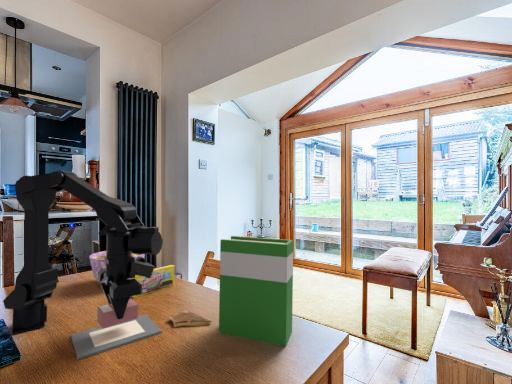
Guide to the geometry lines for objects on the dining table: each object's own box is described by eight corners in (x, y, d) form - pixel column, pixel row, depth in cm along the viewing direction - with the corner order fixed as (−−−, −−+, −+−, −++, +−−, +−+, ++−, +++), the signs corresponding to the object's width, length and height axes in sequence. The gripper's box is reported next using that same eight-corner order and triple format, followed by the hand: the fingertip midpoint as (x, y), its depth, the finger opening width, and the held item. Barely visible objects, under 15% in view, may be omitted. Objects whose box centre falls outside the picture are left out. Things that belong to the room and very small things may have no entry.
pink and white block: (137, 318, 67) (138, 304, 68) (102, 328, 62) (103, 313, 62) (130, 311, 71) (131, 298, 71) (97, 321, 66) (97, 306, 66)
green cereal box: (218, 333, 68) (220, 239, 68) (230, 320, 75) (232, 235, 76) (285, 346, 62) (287, 244, 63) (292, 331, 69) (293, 240, 70)
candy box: (134, 298, 90) (134, 274, 90) (130, 297, 91) (131, 273, 91) (174, 286, 103) (174, 265, 103) (171, 285, 104) (171, 264, 104)
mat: (77, 359, 56) (77, 357, 56) (70, 336, 65) (71, 334, 65) (161, 332, 68) (161, 330, 68) (146, 316, 77) (146, 314, 77)
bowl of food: (106, 295, 92) (107, 262, 92) (78, 285, 102) (78, 255, 103) (155, 280, 109) (155, 252, 109) (126, 272, 119) (127, 247, 120)
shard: (211, 326, 72) (211, 320, 72) (188, 337, 66) (188, 330, 66) (187, 314, 79) (187, 308, 79) (164, 324, 73) (164, 317, 73)
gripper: (164, 255, 65) (163, 319, 65) (140, 244, 79) (139, 296, 79) (114, 261, 58) (112, 333, 57) (98, 248, 72) (96, 306, 72)
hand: (117, 314), depth 66 cm, fingers closed on pink and white block, 5 cm apart
